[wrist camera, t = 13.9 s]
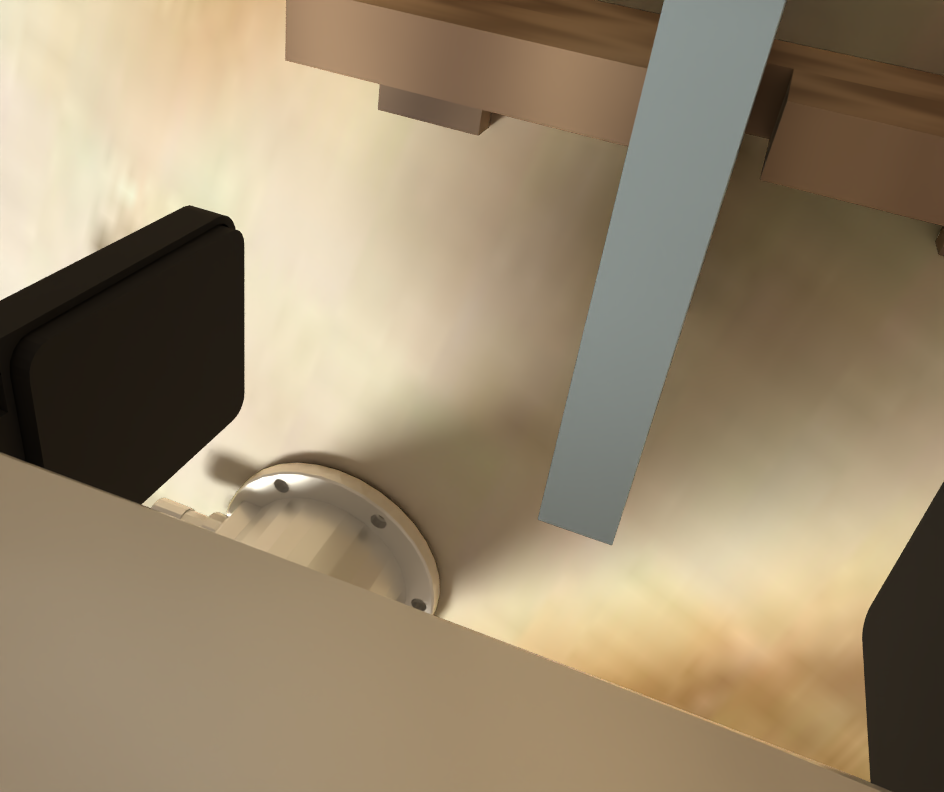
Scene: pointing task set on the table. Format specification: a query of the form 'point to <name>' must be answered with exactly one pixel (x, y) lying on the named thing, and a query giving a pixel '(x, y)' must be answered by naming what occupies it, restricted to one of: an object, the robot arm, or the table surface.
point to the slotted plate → (655, 248)
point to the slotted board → (633, 87)
